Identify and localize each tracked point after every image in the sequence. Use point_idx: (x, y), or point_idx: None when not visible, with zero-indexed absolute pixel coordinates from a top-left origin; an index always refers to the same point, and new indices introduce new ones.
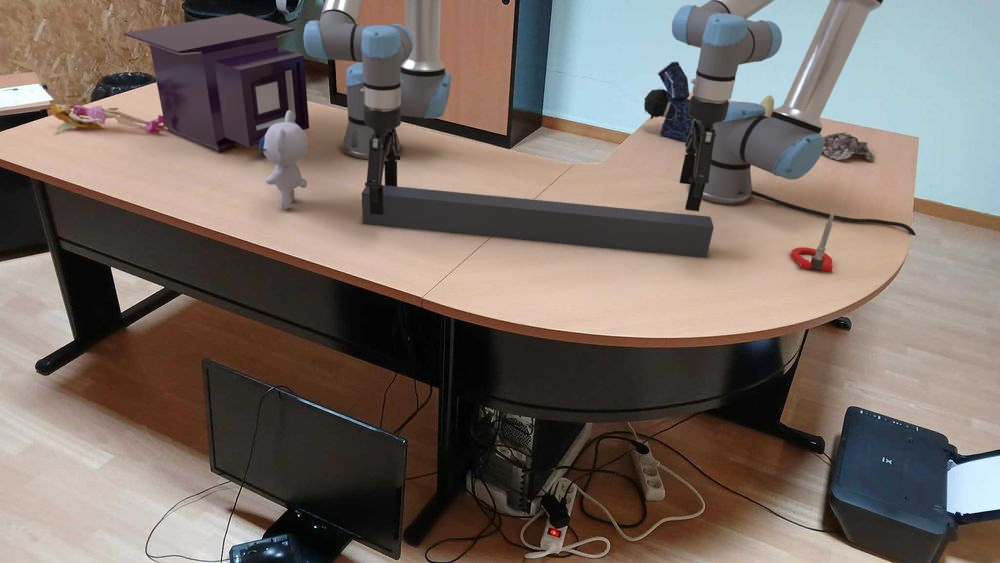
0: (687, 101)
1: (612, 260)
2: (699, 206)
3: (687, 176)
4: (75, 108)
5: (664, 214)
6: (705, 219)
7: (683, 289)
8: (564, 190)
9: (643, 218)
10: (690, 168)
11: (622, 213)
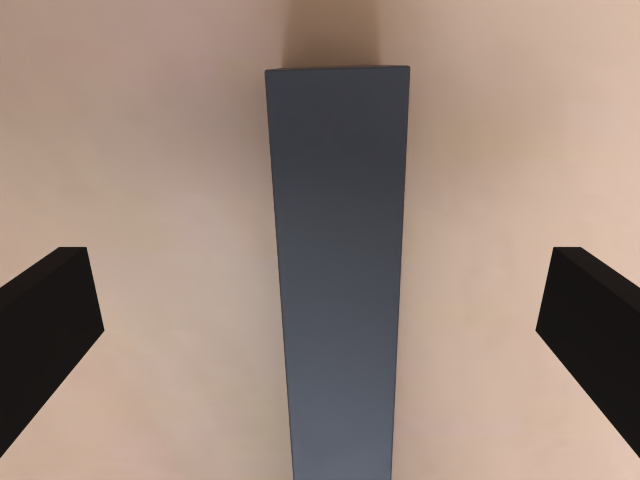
0: None
1: (451, 387)
2: (604, 267)
3: (62, 324)
4: None
5: (309, 319)
6: (316, 108)
7: (631, 185)
8: None
9: (376, 403)
10: (7, 364)
11: (346, 472)
